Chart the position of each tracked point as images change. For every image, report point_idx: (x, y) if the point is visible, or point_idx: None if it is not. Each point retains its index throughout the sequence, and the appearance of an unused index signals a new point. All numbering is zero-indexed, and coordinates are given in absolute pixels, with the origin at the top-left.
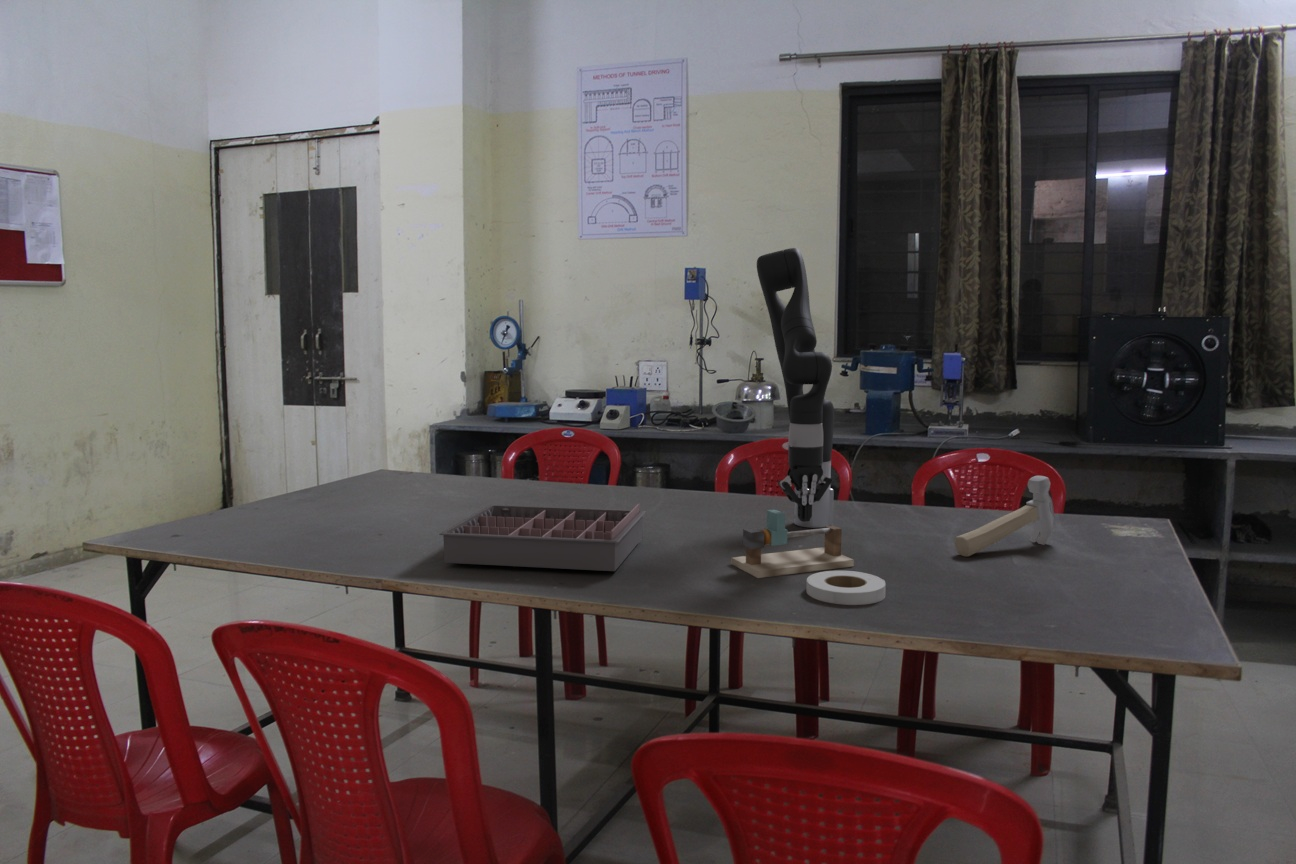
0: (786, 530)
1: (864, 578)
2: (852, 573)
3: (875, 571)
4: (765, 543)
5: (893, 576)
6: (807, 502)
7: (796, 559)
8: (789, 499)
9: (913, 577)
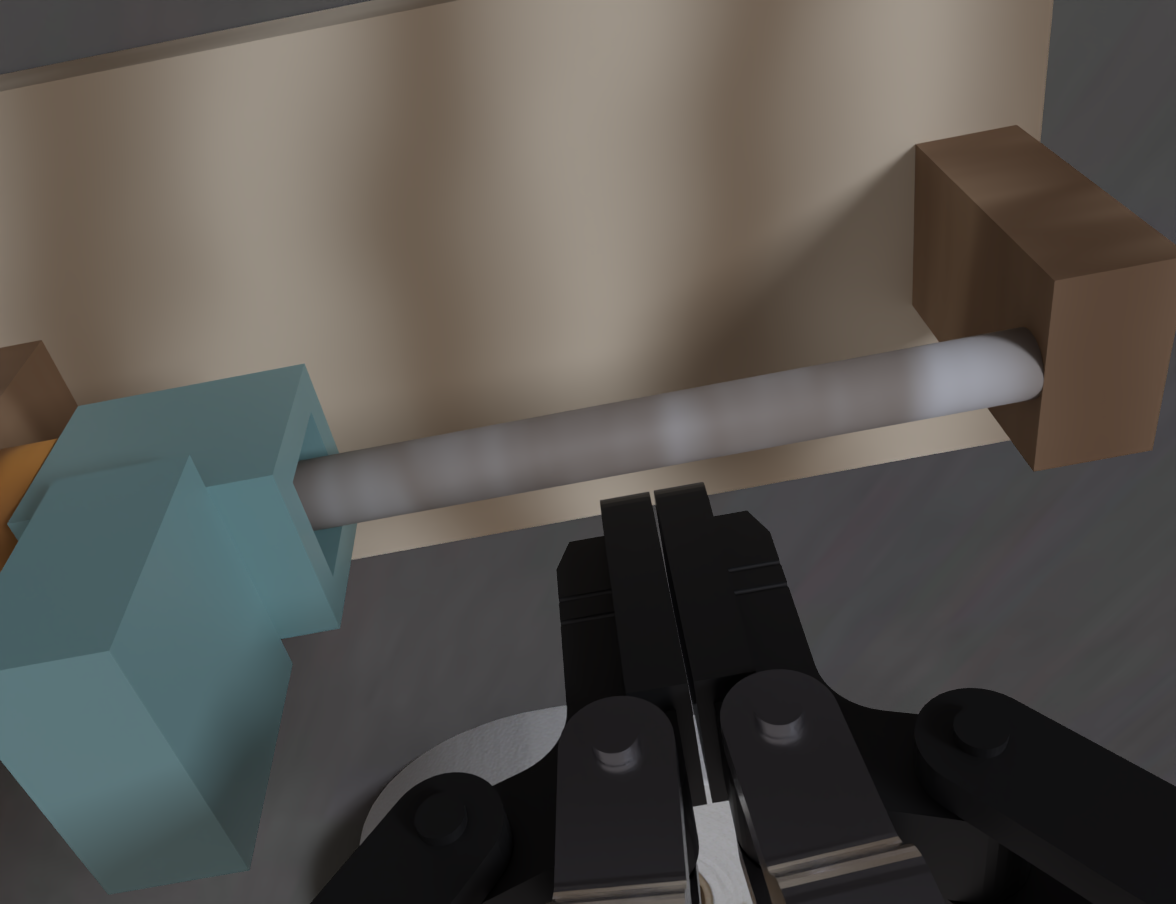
0: (326, 621)
1: (726, 895)
2: (709, 827)
3: (1046, 544)
4: None
5: (1069, 651)
6: (735, 821)
7: (495, 351)
8: (383, 831)
9: (1168, 681)
